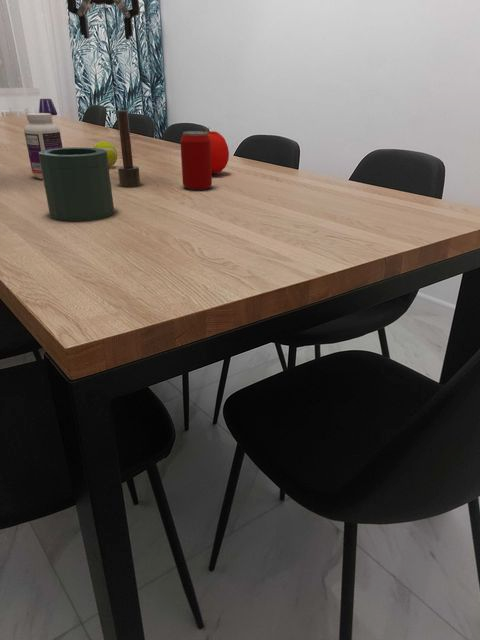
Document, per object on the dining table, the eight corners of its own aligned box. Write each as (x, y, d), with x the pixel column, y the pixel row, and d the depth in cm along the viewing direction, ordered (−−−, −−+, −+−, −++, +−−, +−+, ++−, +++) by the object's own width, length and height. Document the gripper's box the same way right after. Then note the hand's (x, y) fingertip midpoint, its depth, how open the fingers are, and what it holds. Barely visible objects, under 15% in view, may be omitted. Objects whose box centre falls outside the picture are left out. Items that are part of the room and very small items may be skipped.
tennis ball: (101, 170, 136) (97, 143, 132) (89, 166, 140) (85, 141, 137) (123, 167, 140) (120, 141, 136) (111, 164, 144) (108, 139, 141)
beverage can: (210, 184, 121) (209, 130, 115) (213, 190, 115) (211, 134, 109) (182, 185, 120) (179, 130, 114) (183, 191, 114) (180, 134, 108)
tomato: (223, 169, 140) (222, 126, 134) (234, 177, 130) (234, 130, 125) (180, 171, 136) (177, 126, 131) (188, 179, 127) (186, 131, 121)
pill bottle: (68, 173, 130) (58, 112, 123) (66, 179, 123) (56, 115, 116) (35, 174, 128) (22, 112, 121) (31, 180, 121) (18, 115, 114)
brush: (118, 187, 117) (109, 111, 109) (121, 183, 121) (113, 109, 113) (139, 187, 117) (131, 111, 109) (141, 183, 121) (134, 110, 113)
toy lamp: (45, 163, 144) (33, 98, 136) (61, 161, 147) (50, 98, 139) (52, 165, 141) (40, 99, 133) (68, 163, 144) (57, 98, 135)
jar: (42, 221, 89) (29, 156, 84) (59, 206, 99) (49, 147, 94) (107, 221, 90) (99, 156, 85) (118, 206, 100) (111, 147, 95)
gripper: (136, -52, 103) (143, 41, 111) (64, -55, 102) (77, 39, 109) (131, -60, 96) (139, 39, 104) (54, -64, 95) (68, 37, 103)
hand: (107, 39), depth 107 cm, fingers open, 8 cm apart
